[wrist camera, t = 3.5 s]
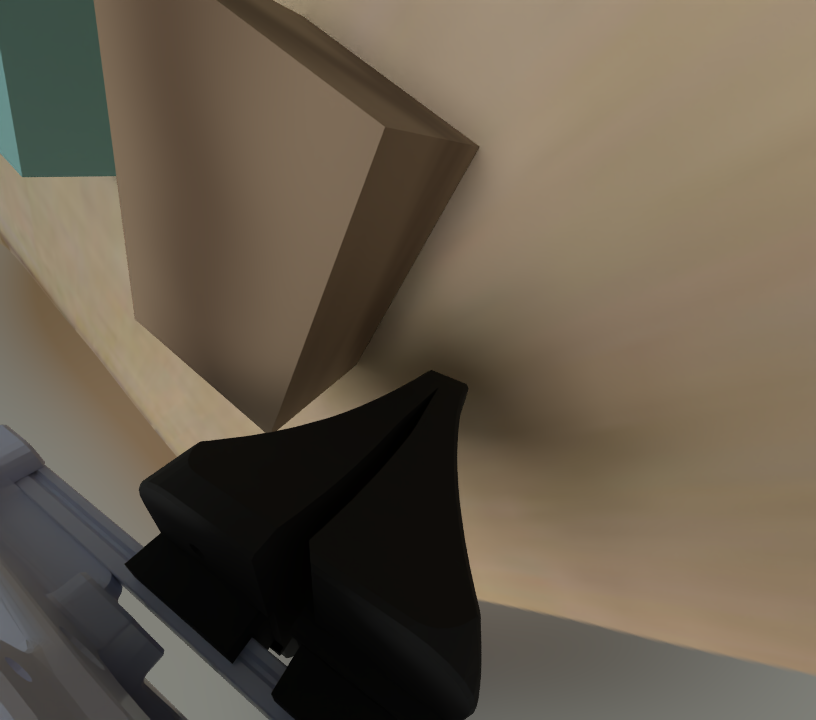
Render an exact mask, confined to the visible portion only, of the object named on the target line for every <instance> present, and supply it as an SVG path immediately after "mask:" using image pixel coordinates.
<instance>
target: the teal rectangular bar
mask: <svg viewBox="0 0 816 720" xmlns="http://www.w3.org/2000/svg"><path fill="white" fill-rule="evenodd" d="M0 153H1V154H2V156H3V157H4V158H5V159H6V160H7V161H8V162H9V163H10V164H11V165H12V166H13V168H14V169H15V170H16V171H17V172H18V173H19V174H20V175H21V176H22V177H78V176H116V169H115V162H114V154H113V146H112V138H111V131H110V123H109V115H108V108H107V100H106V92H105V84H104V77H103V69H102V61H101V54H100V46H99V38H98V30H97V23H96V15H95V7H94V0H0Z"/></svg>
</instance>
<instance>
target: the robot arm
mask: <svg viewBox="0 0 816 720" xmlns="http://www.w3.org/2000/svg"><path fill="white" fill-rule="evenodd" d="M468 389H469V388H468V386H467V384H465V383H462V382H460V381H457V380H455V379H452V378H450V377H448V376H445V375H443V374H440V373H438V372H435V371H433V370H431V371H428V372H427V373H425V374H423V375H421V376H420V377H418V378H416V379H415V380H413V381H411V382H409V383H407V384H406V385H404V386H402V387H400V388H398V389H396V390H394V391H392V392H390V393H388V394H386V395H384V396H382V397H380V398H378V399H376V400H373V401H371V402H369V403H367V404H365V405H362V406H360V407H357V408H355V409H352V410H350V411H347V412H344V413H342V414H339V415H336V416H333V417H330V418H327V419H323V420H320V421H316V422H312V423H309V424H305V425H301V426H297V427H293V428H289V429H284V430H279V431H274V432H268V433H263V434H257V435H251V436H244V437H236V438H228V439H220V440H212V441H201V442H199V443H197V444H196V445H194V446H193V447H191V448H190V449H188V450H187V451H185V452H184V453H183V454H181V455H180V456H178V457H177V458H175V459H174V460H173V461H171V462H170V463H168V464H167V465H165V466H164V467H162V468H161V469H159V470H158V471H157V472H155V473H154V474H152V475H151V476H149V477H148V478H146V479H145V480H143V481H142V483H141V484H140V487H139V492H140V496H141V498H142V500H143V502H144V504H145V506H146V508H147V510H148V511H149V513H150V515H151V516H152V518H153V520H154V521H155V523H156V525H157V527H158V528H159V530H160V532H161V533H160V534H159V535H158V536H157V537H156V538H154V539H153V540H152V541H151V542H150V543H148V544H147V545H146V546H145V547H143V546H142V545H141V544H139V543H138V542H137V541H136V540H135V539H133V538H132V537H131V536H130V535H129V534H127V533H126V532H125V531H124V530H122V529H121V528H120V527H119V526H118V525H117V524H115V523H114V522H113V521H112V520H111V519H109V518H108V517H107V516H106V515H105V514H103V513H102V512H101V511H100V510H98V509H97V508H96V507H95V506H94V505H92V504H91V503H90V502H89V501H88V500H87V499H85V498H84V497H83V496H82V495H81V494H79V493H78V492H77V491H76V490H74V489H73V488H72V487H71V486H70V485H68V484H67V483H66V482H65V481H64V480H62V479H61V478H60V477H59V476H58V475H57V474H55V473H54V472H53V471H52V470H50V469H49V468H48V467H47V466H46V465H44V464H45V462H44V461H43V459H42V458H41V457H40V455H39V454H38V453H37V452H36V451H35V449H34V448H33V447H32V446H31V445H30V444H29V443H28V442H27V441H26V440H24V439H23V438H22V437H21V436H20V435H18V434H17V433H16V432H15V431H13V430H12V429H11V428H10V427H8V426H7V425H0V720H187V718H186V717H185V716H183V714H182V713H180V712H179V711H178V710H177V709H176V708H175V707H174V706H173V705H172V704H171V703H170V702H169V701H168V700H167V699H166V698H165V697H164V696H163V695H162V694H161V693H160V692H159V691H158V690H157V689H156V688H155V687H154V686H153V685H152V684H151V683H150V682H149V681H148V680H147V679H146V678H145V676H146V674H147V673H148V672H149V671H150V669H151V668H152V667H153V666H154V665H155V664H156V663H157V662H158V661H159V659H160V658H161V657H162V656H163V654H164V649H163V648H162V647H161V646H160V645H159V644H158V643H157V642H156V641H155V640H154V639H153V638H152V637H151V636H150V635H149V634H148V633H147V632H146V631H145V630H144V629H143V628H142V627H141V626H140V625H139V624H138V623H137V622H136V620H135V619H134V618H133V617H132V616H131V615H130V614H129V613H128V612H127V611H125V609H123V607H122V606H120V605H119V604H118V598H119V596H120V594H121V592H122V585H123V586H124V587H125V588H126V589H127V590H128V591H129V592H130V593H131V594H132V595H134V596H135V597H136V598H137V599H138V600H139V601H140V602H141V603H142V604H143V605H144V606H145V607H147V608H148V609H149V610H150V611H151V612H152V613H153V614H155V616H156V617H157V618H159V619H160V620H161V621H162V622H163V623H164V624H165V625H166V626H167V627H168V628H170V629H171V630H172V631H173V632H174V633H175V634H176V635H177V636H178V637H179V638H180V639H182V640H183V641H184V642H185V643H186V644H187V645H188V646H189V647H190V648H191V649H192V650H194V651H195V652H196V653H197V654H198V655H199V656H200V657H201V658H202V659H203V660H204V661H205V662H207V663H208V664H209V665H210V666H211V667H212V668H213V669H214V670H215V671H216V672H217V673H219V674H220V675H221V676H222V677H223V678H224V679H225V680H226V681H227V682H228V683H229V684H231V685H232V686H233V687H234V688H235V689H236V690H237V691H238V692H239V693H241V694H242V695H243V696H244V697H245V698H246V699H247V700H248V701H249V702H250V703H251V704H252V705H254V706H255V707H256V708H257V709H258V710H259V711H260V712H261V713H262V714H263V715H264V716H265V717H267V718H268V719H269V720H465V719H466V718H467V717H469V716H470V715H472V714H473V713H474V711H475V709H476V706H477V703H478V698H479V690H480V680H481V616H480V609H479V605H478V601H477V596H476V592H475V588H474V583H473V579H472V574H471V569H470V565H469V559H468V554H467V548H466V543H465V537H464V530H463V523H462V515H461V508H460V500H459V488H458V472H457V442H458V429H459V419H460V414H461V411H462V408H463V405H464V402H465V399H466V395H467V392H468ZM269 648H271V649H272V650H273V651H275V652H276V653H277V654H278V655H279V656H280V655H281V654H282V655H283V656H285V657H286V658H290V657H293V656H294V657H293V658H292V660H291V662H290V663H289V665H288V666H286V665H285V664H284V663H282V662H281V661H280V660H279V659H277V658H276V657H275V656H274V655H273V654H272V653H270V652H269V651H268V649H269Z"/></svg>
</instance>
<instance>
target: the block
mask: <svg viewBox="0 0 816 720" xmlns="http://www.w3.org/2000/svg"><path fill="white" fill-rule="evenodd" d="M94 7H95V15H96V23H97V30H98V38H99V46H100V54H101V61H102V69H103V77H104V84H105V92H106V100H107V108H108V115H109V123H110V131H111V138H112V146H113V154H114V162H115V169H116V177H117V185H118V192H119V200H120V208H121V216H122V223H123V231H124V239H125V246H126V254H127V262H128V270H129V277H130V285H131V293H132V300H133V308H134V316H135V320H137V321H138V322H139V323H140V324H141V325H142V326H143V327H145V328H146V329H147V330H148V331H149V332H150V333H151V334H153V335H154V336H155V337H156V338H157V339H158V340H160V341H161V342H162V343H163V344H164V345H165V346H166V347H168V348H169V349H170V350H171V351H172V352H173V353H174V354H176V355H177V356H178V357H179V358H180V359H181V360H183V361H184V362H185V363H186V364H187V365H188V366H189V367H191V368H192V369H193V370H194V371H195V372H196V373H198V374H199V375H200V376H201V377H202V378H203V379H204V380H206V381H207V382H208V383H209V384H210V385H211V386H212V387H214V388H215V389H216V390H217V391H218V392H219V393H221V394H222V395H223V396H224V397H225V398H226V399H227V400H229V401H230V402H231V403H232V404H233V405H234V406H235V407H237V408H238V409H239V410H240V411H241V412H242V413H244V414H245V415H246V416H247V417H248V418H249V419H250V420H252V421H253V422H254V423H255V424H256V425H257V426H258V427H260V428H261V429H262V430H263V431H264V432H265V433H268V432H274V431H277V430H278V429H279V428H281V427H282V426H283V425H284V424H285V423H287V422H288V421H289V420H290V419H291V418H293V417H294V416H295V415H296V414H297V413H299V412H300V411H301V410H302V409H303V408H305V407H306V406H307V405H308V404H309V403H311V402H312V401H313V400H314V399H316V398H317V397H318V396H319V395H320V394H322V393H323V392H324V391H325V390H326V389H328V388H329V387H330V386H331V385H332V384H334V383H335V382H336V381H337V380H338V379H340V378H341V377H342V376H343V375H345V374H346V373H347V372H348V371H349V370H351V369H352V368H353V367H354V366H355V365H356V364H357V362H358V361H359V359H360V357H361V355H362V353H363V352H364V350H365V348H366V346H367V345H368V343H369V341H370V339H371V338H372V336H373V334H374V332H375V330H376V329H377V327H378V325H379V323H380V322H381V320H382V318H383V316H384V315H385V313H386V311H387V309H388V308H389V306H390V304H391V302H392V300H393V299H394V297H395V295H396V293H397V292H398V290H399V288H400V286H401V285H402V283H403V281H404V279H405V277H406V276H407V274H408V272H409V270H410V269H411V267H412V265H413V263H414V262H415V260H416V258H417V256H418V254H419V253H420V251H421V249H422V247H423V246H424V244H425V242H426V240H427V239H428V237H429V235H430V233H431V231H432V230H433V228H434V226H435V224H436V223H437V221H438V219H439V217H440V216H441V214H442V212H443V210H444V208H445V207H446V205H447V203H448V201H449V200H450V198H451V196H452V194H453V193H454V191H455V189H456V187H457V185H458V184H459V182H460V180H461V178H462V177H463V175H464V173H465V171H466V170H467V168H468V166H469V164H470V162H471V161H472V159H473V157H474V155H475V154H476V152H477V150H478V148H479V146H478V145H476V144H475V143H474V142H472V141H471V140H470V139H468V138H467V137H466V136H464V135H463V134H462V133H460V132H459V131H457V130H456V129H455V128H453V127H452V126H451V125H449V124H448V123H447V122H445V121H444V120H443V119H441V118H440V117H438V116H437V115H436V114H434V113H433V112H432V111H430V110H429V109H428V108H426V107H425V106H424V105H422V104H421V103H420V102H418V101H417V100H415V99H414V98H413V97H411V96H410V95H409V94H407V93H406V92H405V91H403V90H402V89H401V88H399V87H398V86H396V85H395V84H394V83H392V82H391V81H390V80H388V79H387V78H386V77H384V76H383V75H382V74H380V73H379V72H377V71H376V70H375V69H373V68H372V67H371V66H369V65H368V64H367V63H365V62H364V61H363V60H361V59H360V58H358V57H357V56H356V55H354V54H353V53H352V52H350V51H349V50H348V49H346V48H345V47H344V46H342V45H341V44H339V43H338V42H337V41H335V40H334V39H333V38H331V37H330V36H329V35H327V34H326V33H325V32H323V31H322V30H321V29H319V28H318V27H316V26H315V25H314V24H312V23H311V22H310V21H308V20H307V19H306V18H304V17H303V16H301V15H299V14H297V13H295V12H294V11H292V10H290V9H288V8H286V7H284V6H282V5H280V4H279V3H277V2H275V1H273V0H94Z"/></svg>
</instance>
